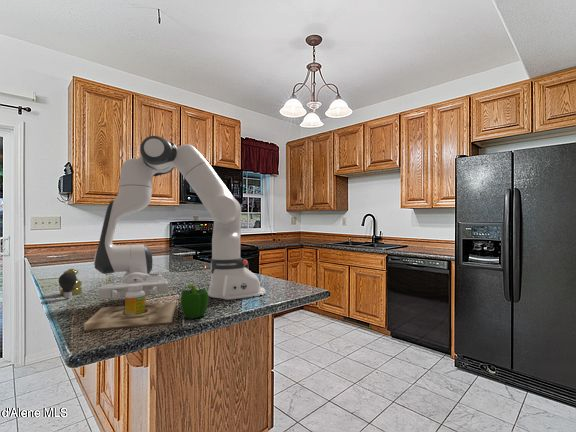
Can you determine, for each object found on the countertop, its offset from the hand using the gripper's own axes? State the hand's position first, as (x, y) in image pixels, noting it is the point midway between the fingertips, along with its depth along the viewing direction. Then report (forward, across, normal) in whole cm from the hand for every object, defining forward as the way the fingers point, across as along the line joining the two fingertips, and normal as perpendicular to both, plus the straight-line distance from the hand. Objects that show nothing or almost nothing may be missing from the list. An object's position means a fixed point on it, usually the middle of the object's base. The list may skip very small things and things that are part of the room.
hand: (135, 294), depth 96 cm
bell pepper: (+7, +16, +7) cm, 19 cm away
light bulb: (-36, -23, +7) cm, 43 cm away
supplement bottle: (+1, 0, +7) cm, 7 cm away
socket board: (+1, 0, +7) cm, 7 cm away
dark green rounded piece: (-46, -23, +7) cm, 51 cm away
